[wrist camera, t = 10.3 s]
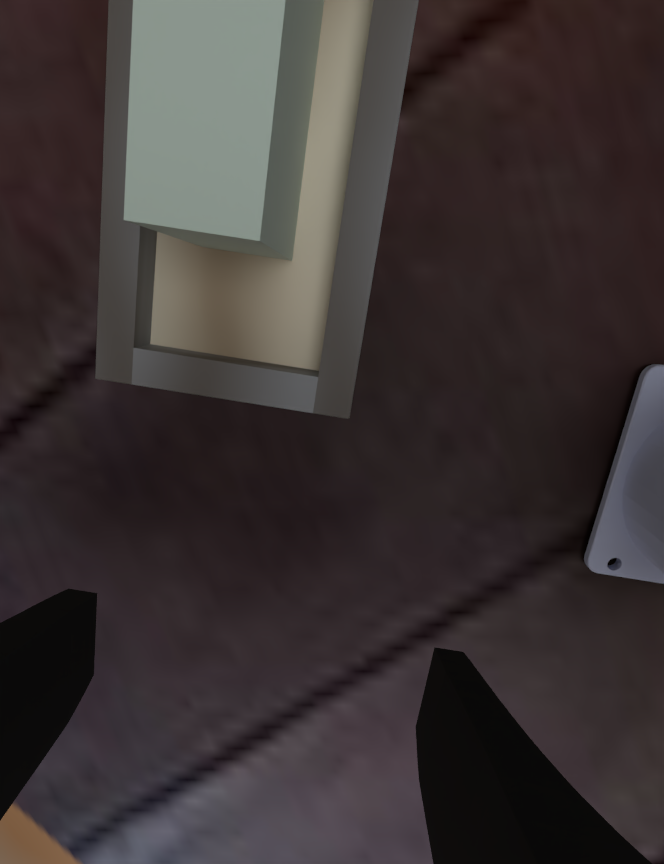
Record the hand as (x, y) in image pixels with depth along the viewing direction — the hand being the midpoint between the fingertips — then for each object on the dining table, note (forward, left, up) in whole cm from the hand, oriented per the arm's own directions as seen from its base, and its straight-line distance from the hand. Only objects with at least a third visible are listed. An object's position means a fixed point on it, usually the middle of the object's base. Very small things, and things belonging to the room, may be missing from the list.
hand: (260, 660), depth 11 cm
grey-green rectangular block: (+3, -13, -9) cm, 16 cm away
